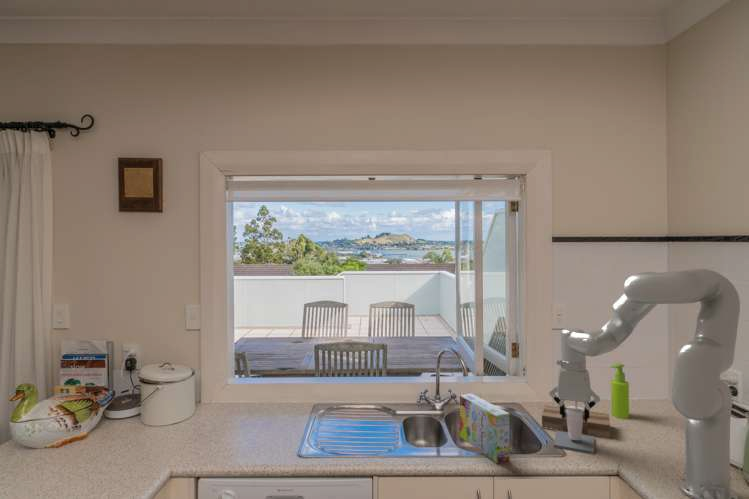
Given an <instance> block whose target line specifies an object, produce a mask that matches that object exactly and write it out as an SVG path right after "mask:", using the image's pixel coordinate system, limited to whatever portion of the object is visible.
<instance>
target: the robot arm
mask: <svg viewBox="0 0 749 499" xmlns="http://www.w3.org/2000/svg"><path fill="white" fill-rule="evenodd" d="M740 300H741V299H740V295H739V293H738V290H737V289H736V287H735V285H734V284H733V283H732V281H730V280H729V279H728V278H727V277H726V276H724V275H723V274H721V273H719V272H717V271H714V270H711V269H709V268H707V269H706V268H695V269H687V270H677V271H666V272H656V271H646V272H639V273H637V272H636V273H634V274H632V275H630V276H629V277H627V278H626V280H625V281H624V283H623V293H622V294H621V295H620V296H619V297H618V298H617V299H616V300H615V301H614V302H613V304H612V306H611V309H612V312H613V315H612V316H611V318H610V319H609V320H608V321H607V322H606V323H605V324H604V325H603V326H602V327H601V328H600V329H596V330H593V331H589V332H588V331H587V332H585V331H584V330H583V329H581V328H577V327H566V328H563V329H562V330H561V332H560V351H561V353H560V354H561V356H560V357H561V359H560V360H556V365H557V366H560V368H559V369H558V374H557V385H556V386H555V387H554V388H553V389H552V390H550V391H549V392H548V394H549V396H550V397H551V398H552V399H553V400H554V401H555V403H557V405H558V407H560V415H562V418H563V419H564V417H565V412H564V408H565V407H566V406H565V401H570V402H575V401H577V403H583V404H584V410H585V422H587V418H588V419H589V411H590V410H591V409H592V408H593V407H594V406H596V405H597V404H598V403H599V402H600V401H601V397H600V396H599V395H597V393H595V392H594V390H592V387H591V379H590V378H591V377H590V374H589V373H590V372H589V370H588V369H587V357H593V358H594V357H598V356H601V355H603V354H607V353H610V352H613V351H615V350H616V349H617V348H618V347H619V346H620V345H621V344H623V342H624V341H626V340H627V339H628V338H629V337H630V335H631V334H633V332H634V330H635V329H636V327H637V325H638V324H639V323H640V322H641V321H642V320H643V319H644V318H645V317H646V316H647V315H648V314H649V313H651V311H652V310H653V309H654V308H655V307H657V305H669V304H670V305H673V304H674V305H675V304H676V305H678V304H679V305H681V304H682V305H683V304H686V305H687V304H694V303H698V302H699V303H700V308H699V311H698V315H697V316H696V317H697V319H696V327H695V333H694V337H693V339H692V340H690V341H688V342H686V343H684V344H683V345H682V346H681V347H680V348H679V350H678V352H677V355H676V358H675V363H674V370H673V378H672V383H671V384H672V385H671V402H672V404H673V406H674V409H676V411H677V412H678V413H679V414H680V415H682V416H683V417H684V418H685V419H684V420H685V421H684V422H685V424H684V426H685V428H684V430H685V431H684V438H685V440H684V442H685V443H684V444H685V445H684V446H685V448H684V449H685V450H684V451H685V453H684V454H685V476H684V477H681V478H680V479H679V481H678V488H679V489H680V491H681V492H682V493H684V494H685V495H686V496H688V497H689V498H692V499H739V496H738V494H737V493H736V492H735V490H733V489H732V488H731V417H732V416H731V415H732V410H733V395H732V391H731V388H730V387H729V386H728V384H727V383H726V382H725V381H724V380H723V379H722V378H720V377H721V374H722V373H725V372H726V371H728V370H729V369H731V367H733V366H732V365H733V363H734V359H735V352H736V351H735V350H736V349H735V348H736V342H737V336H738V327H739V320H740V312H741V302H740ZM586 356H587V357H586ZM556 393H557V394H556ZM592 398H593V399H592ZM591 399H592V400H591Z"/></svg>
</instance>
